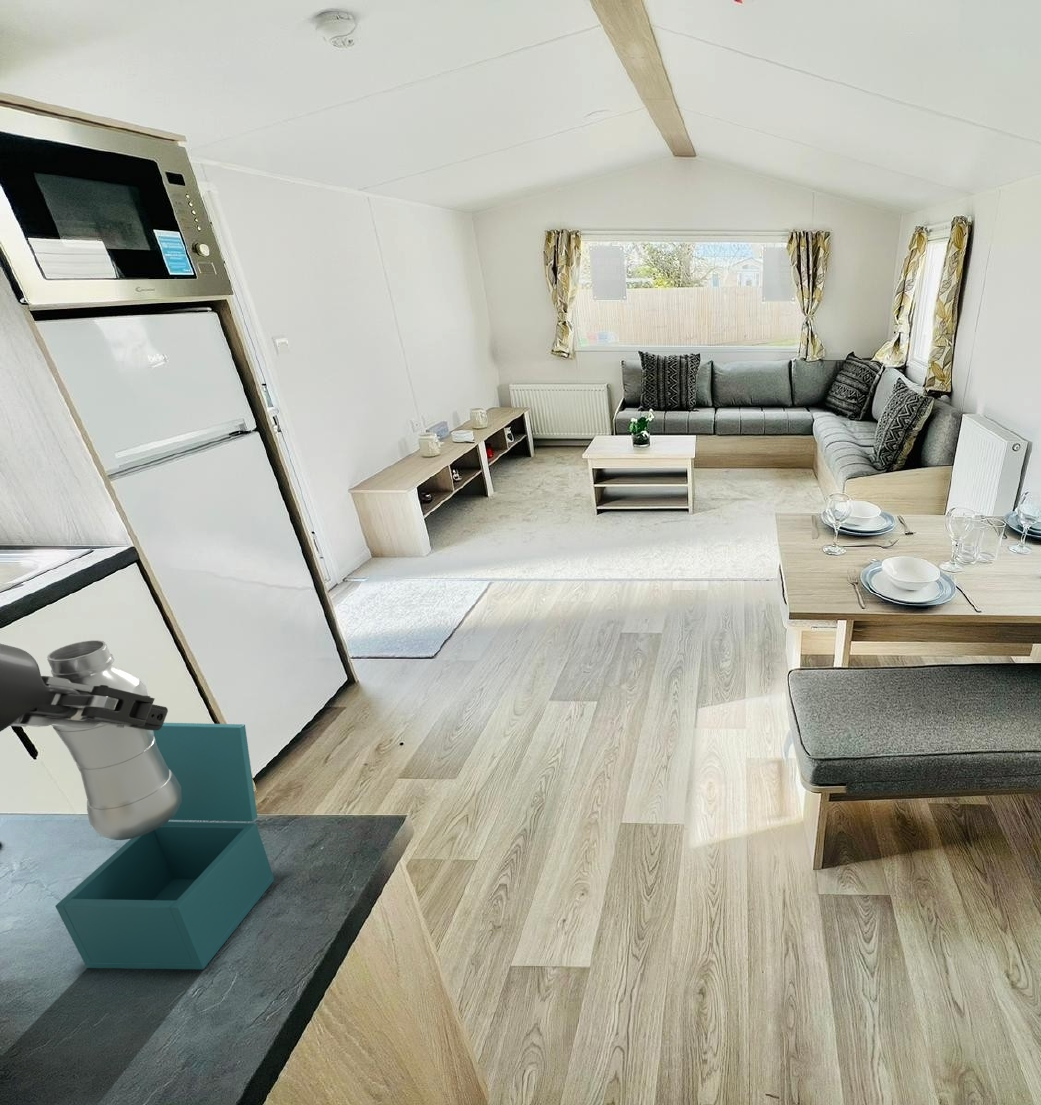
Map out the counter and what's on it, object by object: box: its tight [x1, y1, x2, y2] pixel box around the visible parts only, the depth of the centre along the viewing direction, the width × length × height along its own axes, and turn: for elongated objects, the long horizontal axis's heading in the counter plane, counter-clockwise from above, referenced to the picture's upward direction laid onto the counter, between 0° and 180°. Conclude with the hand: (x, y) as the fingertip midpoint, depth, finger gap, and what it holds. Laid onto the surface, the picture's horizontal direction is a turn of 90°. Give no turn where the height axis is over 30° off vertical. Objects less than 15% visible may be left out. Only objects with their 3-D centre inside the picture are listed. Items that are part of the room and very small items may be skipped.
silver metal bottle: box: [46, 639, 182, 841], centre depth 58 cm, size 6×7×20 cm
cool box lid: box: [153, 722, 258, 822], centre depth 68 cm, size 11×12×1 cm
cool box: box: [55, 820, 275, 970], centre depth 66 cm, size 11×12×9 cm
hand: (123, 718), depth 59 cm, fingers closed on silver metal bottle, 6 cm apart
